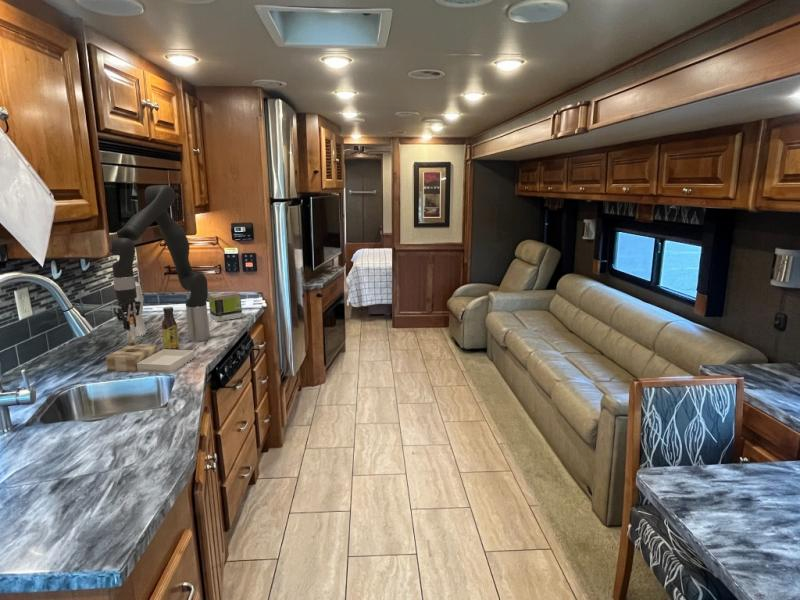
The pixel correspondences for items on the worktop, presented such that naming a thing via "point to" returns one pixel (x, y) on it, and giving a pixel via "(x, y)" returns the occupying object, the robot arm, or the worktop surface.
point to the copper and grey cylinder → (131, 333)
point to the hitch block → (130, 357)
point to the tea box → (225, 306)
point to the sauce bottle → (169, 330)
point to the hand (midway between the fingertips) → (130, 328)
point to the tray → (165, 361)
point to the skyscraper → (140, 324)
